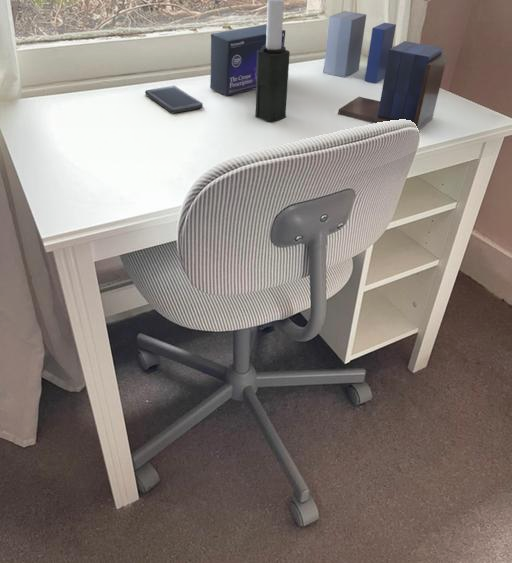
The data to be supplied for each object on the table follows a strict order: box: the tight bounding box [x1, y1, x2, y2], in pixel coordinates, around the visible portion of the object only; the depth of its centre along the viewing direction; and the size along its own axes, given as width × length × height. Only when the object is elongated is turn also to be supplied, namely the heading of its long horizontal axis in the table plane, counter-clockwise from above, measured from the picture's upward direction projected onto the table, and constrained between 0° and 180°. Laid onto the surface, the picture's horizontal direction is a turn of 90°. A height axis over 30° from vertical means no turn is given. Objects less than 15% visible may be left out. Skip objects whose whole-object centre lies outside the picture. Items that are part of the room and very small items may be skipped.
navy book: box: [364, 22, 397, 84], centre depth 128 cm, size 3×7×12 cm, turn 146°
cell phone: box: [144, 85, 204, 114], centre depth 115 cm, size 7×14×1 cm, turn 34°
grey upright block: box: [323, 10, 367, 78], centre depth 132 cm, size 6×8×13 cm
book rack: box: [337, 40, 449, 131], centre depth 107 cm, size 17×10×14 cm, turn 56°
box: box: [209, 23, 286, 97], centre depth 121 cm, size 17×7×12 cm, turn 132°
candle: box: [254, 0, 291, 123], centre depth 102 cm, size 5×5×25 cm
